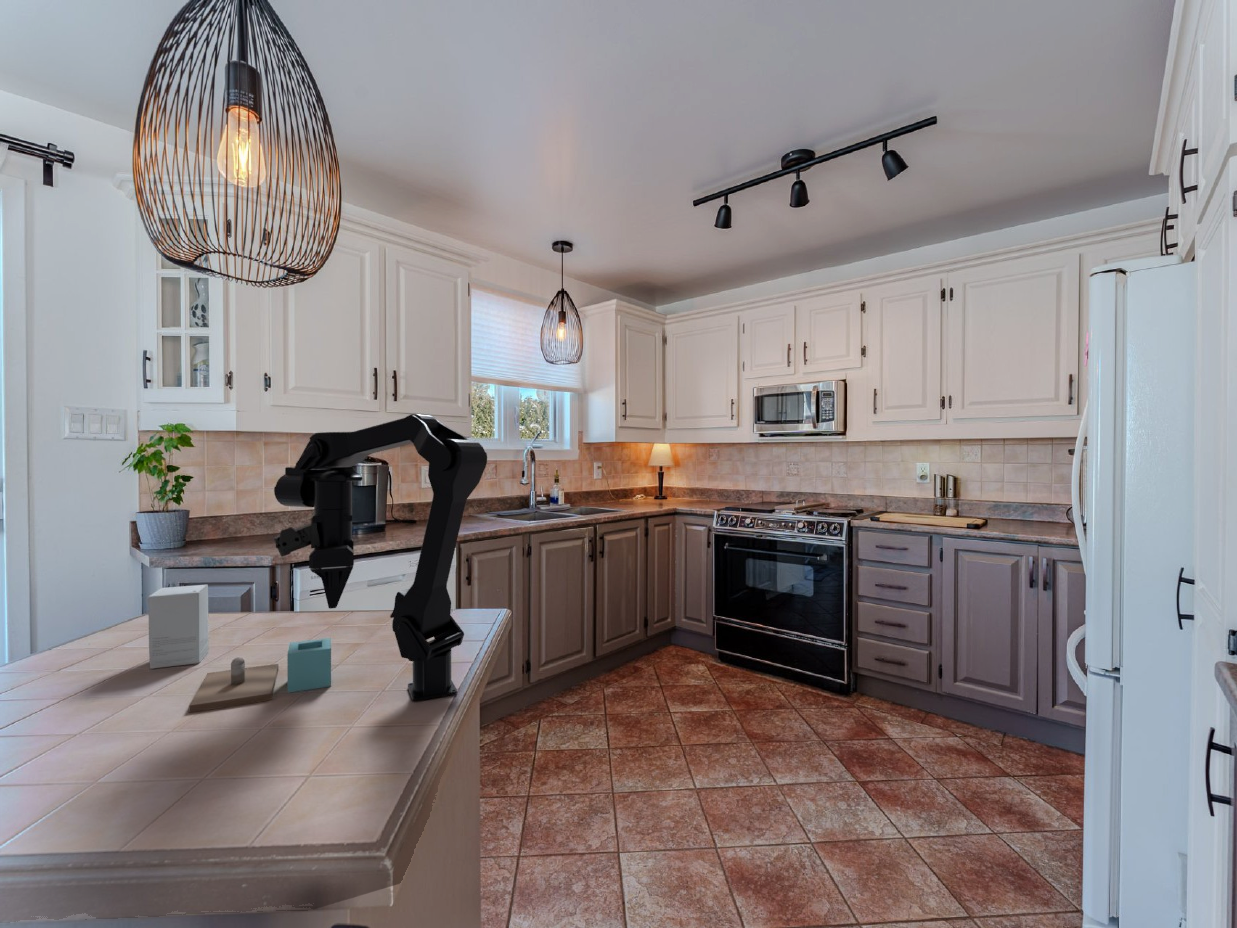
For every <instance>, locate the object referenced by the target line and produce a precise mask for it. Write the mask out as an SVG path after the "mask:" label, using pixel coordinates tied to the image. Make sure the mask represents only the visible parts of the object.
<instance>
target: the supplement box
mask: <svg viewBox="0 0 1237 928" xmlns="http://www.w3.org/2000/svg"><path fill="white" fill-rule="evenodd" d="M147 603H148V604H147V606H148V607H147V608H148V653H149V654H148V655H149V656H148V657H149V670H154V669H159V668H160V669H162V668H168V667H177V666H179V667H180V666H185V665H195V664H200V663H201V661H202V660H203V659H204V658H205V657H206V656H207V654H208V653H209V651H210V640H209V639H210V637H209V634H210V633H209V629H210V628H209V626H210V625H209V624H210V623H209V585H208V584H198V585H185V586H183V585H181V586H171V587H170V586H169V587H168V586H167V587H161V588H159V589H158V590H156V591H155V592H153V593H151V594H150V595H148V596H147Z"/></svg>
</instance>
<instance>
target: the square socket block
mask: <svg viewBox="0 0 1237 928" xmlns="http://www.w3.org/2000/svg"><path fill="white" fill-rule="evenodd" d="M287 650H288V651H287V657H286V658H287V667H286V668H287V694H289V693H294V692H295V693H296V692H302V691H307V690H308V691H310V690H315V689H321V688H328V687H332V638H331V637H328V638H319V639H311V640H301V641H294V642H289V644H288V649H287Z"/></svg>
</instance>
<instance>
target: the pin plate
mask: <svg viewBox="0 0 1237 928" xmlns="http://www.w3.org/2000/svg"><path fill="white" fill-rule="evenodd" d="M278 672H279V663H274V664H265V665H258V666H252V667H251V666H250V667H246V662H245V659H244V658H243V657H236V658H234V659H232V661H231V663H230V669H228V670H222V671H213V672H207V673H206V675H205V677H204V678H203V681H202V682H201V684H200V686H199V687H198V689H197V691H196V693H195V695H194V696H193V697H192V700H191V702H190V703H189V705H188V711H189V712H188V713H196V712H203V711H209V710H214V709H221V708H228V707H234V706H241V705H247V704H254V703H260V702H267V701H271V700H272V698H273V694H274V690H275V686H276V682H277V681H276V680H277V678H278Z"/></svg>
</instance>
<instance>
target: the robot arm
mask: <svg viewBox="0 0 1237 928" xmlns="http://www.w3.org/2000/svg"><path fill="white" fill-rule="evenodd" d="M411 444H413V446H414V447H415V450H416V452H417V453H418V455H419V456H420V457H422V458H423V459H424V460H425V461H426V462H428V471H427V472H428V473H427V477H428V480H429V484H430V487H431V489H432V493H433V495H432V500H431V505H430V509H429V514H428V519H427V522H426V526H425V531H424V536H423V540H422V545H421V549H420V554H419V559H418V562H417V566H416V571H415V575H414V581H413V583H412V585H411V586H410V587H409V588H407V589H404V590H401V591H398V592H396V595H395V597H394V605H393V606H394V607H393V610H392V612H391V614H390V616H389V618H390V619H392V624H391V625H392V627H391V628H392V631H393V633H394V636H395V639H396V643H397V646H398V650H399V653H400V656H401V658H402V659H407V660H408V661H409V662H412V682H410V683H408V684H407V689H408V691H409V695H410V698H411V700H412V701H413V702H418V701H423V700H430V699H435V698H440V697H446V696H452V695H457V694H458V689H457V688H456V685H455V684H454V681H452V649H453V648H456V647H457V646H459V647H460V646H461V645H462V642H463V639H464V636H465V633H464V631H463V629H462V628H461V627H460V626H459V624H458V623H457V622H456V620H455V619H454V618H453V617H452V615H451V614H452V612H451V611H452V600H451V597H450V595H449V591H448V588H447V587H448V585H447V584H448V582H449V577H450V572H451V568H452V563H453V559H454V555H455V551H456V546H457V542H458V538H459V533H460V528H461V524H462V520H463V516H464V512H465V511H464V510H465V507H466V504H467V503H466V502H467V500H468V499H469V497H470V496H471V494H472V493H473V491H475V489H476V487H477V486H478V485H479V483H480V482H481V479H482V476H483V474H484V472H485V469H486V467H487V464H488V453H487V452H486V451H485V449H484V447H483V445H482V444H481V443H480V442H478V441H476V440H471V439H469V438H467V437H466V436H465V435H463V434H461V433H459V432H457V431H456V430H454V429H452V428H450V427H449V426H447V425H445V424H444V423H442V422H441V421H440V420H438V419H437V418H436V417H434V416H432V415H427V414H419V413H418V414H417V413H411V414H409V415H407V416H405V417H402V418H399V419H395V420H392V421H388V422H387V421H386V422H383V423H381V424H377V425H373V426H370V427H369V426H368V427H366V428H365V427H364V428H362V429H357V430H355V431H326V432H323V431H322V432H315V433H313V434H312V435H311V436H310V437H309V441H308V443H307V444H306V446H305V448H304V449H303V451H302V453H301V455H300V456H299V458H298V460H297V462H296V463H295V466H290V467H288V466H287V467H285V468H284V472H285V473H284V474H283V475H282V476H280V477H279V478H278V480H277V481H276V484H275V486H274V488H273V493H274V496H275V497H274V498H275V499H276V501H277V502H278V503H279V504H280V505H282V506H285V507H296V508H297V507H299V508H314V509H313V515H312V517H311V518H310V523H309V524H305V525H302V526H299V527H297V528H294V527H293V526H290V527H287V528H285V529H281V530H280V532H279V534H277V535H276V536H274V538H273V542H274V543H275V548H276V549H277V550H278V552H279V553H278V554H279V555H280V557H285V556H288V555H290V554H291V553H292V552H295V551H299V550H301V549H304V548H306V547H308V546H310V549H312V551H311V552H310V553H309V555H308V568H309V569H310V572H312V573H313V574H315V575H316V576H317V577H320V579H321V581H322V585H323V590H324V594H325V598H326V603H327V606H328V609H336V608H337V607H338V605H339V602H340V600H341V598H342V595H343V592H344V590H345V588H346V585H347V583H348V580H349V578H350V576H351V573H352V570H353V569H354V565H355V563H354V562H355V561H354V558H355V555H354V554H355V553H354V552H355V551H354V550H355V549H354V538H353V482H361V481H363V477H362V476H361V475H360V473H358V472H357V471H356V470H355V469H354V467H353V466H355V465H357V464H359V463H361V462H364V460H365V459H366V458H367V457H368V456H371V455H372V454H375V453H379V452H383V451H388V450H393V449H397V448H400V447H404V446H408V445H411ZM431 638H434V639H431ZM429 639H431V640H429Z"/></svg>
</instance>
